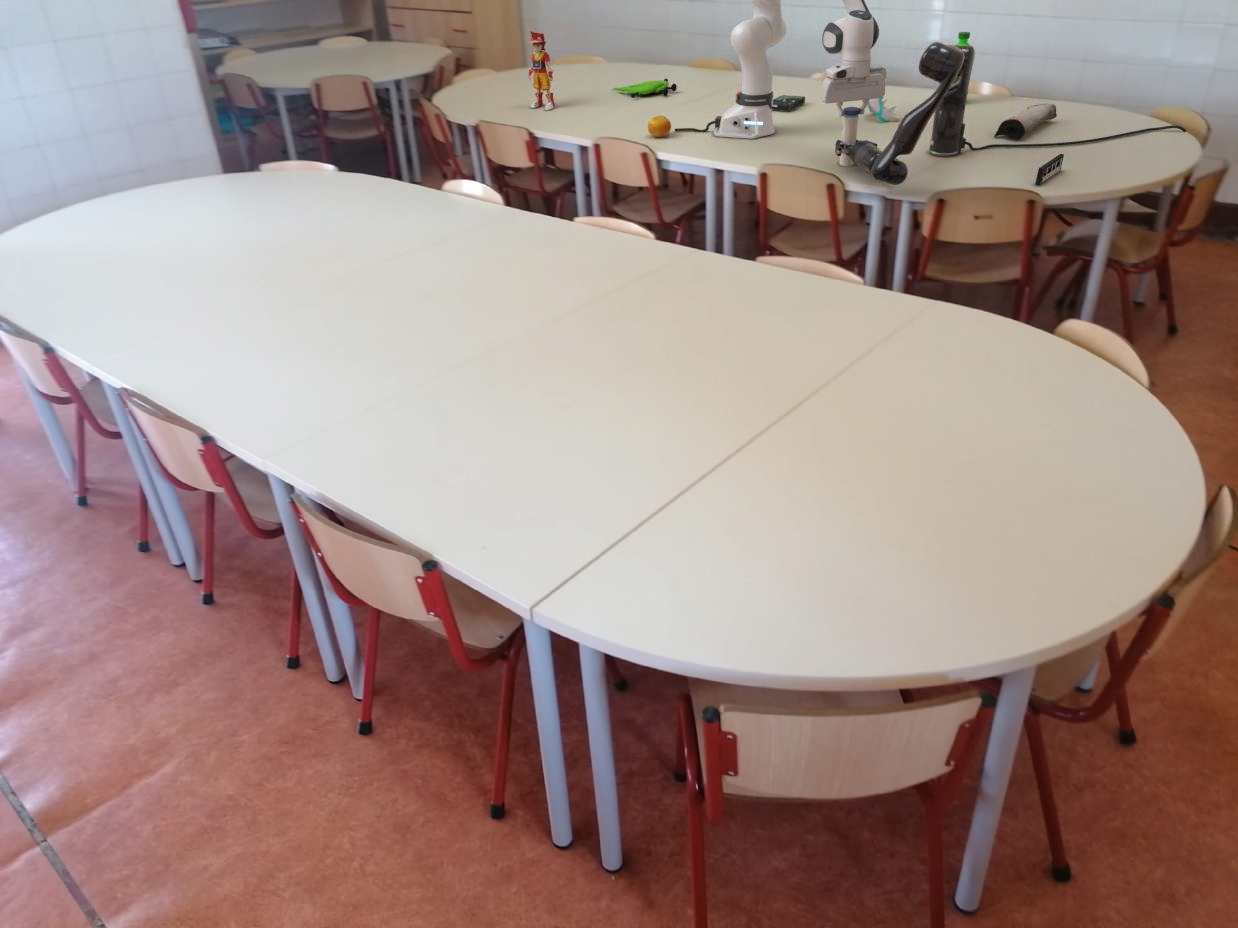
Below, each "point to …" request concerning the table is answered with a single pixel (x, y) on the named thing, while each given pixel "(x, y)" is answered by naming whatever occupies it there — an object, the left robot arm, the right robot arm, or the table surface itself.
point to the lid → (852, 111)
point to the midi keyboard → (1049, 169)
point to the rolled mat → (1026, 121)
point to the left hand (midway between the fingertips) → (851, 115)
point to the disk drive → (787, 102)
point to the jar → (849, 136)
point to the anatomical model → (882, 109)
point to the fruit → (659, 126)
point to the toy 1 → (541, 71)
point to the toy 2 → (648, 88)
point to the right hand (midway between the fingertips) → (845, 142)
